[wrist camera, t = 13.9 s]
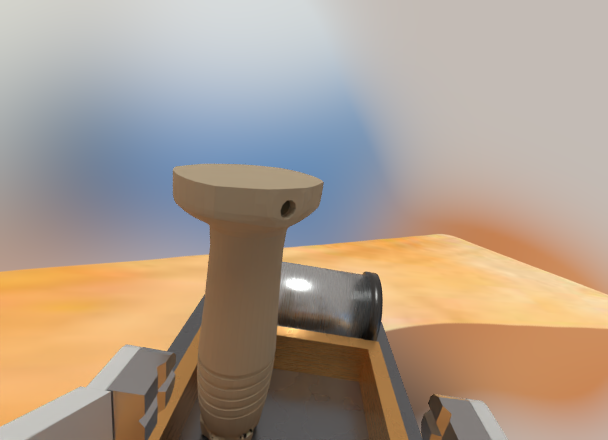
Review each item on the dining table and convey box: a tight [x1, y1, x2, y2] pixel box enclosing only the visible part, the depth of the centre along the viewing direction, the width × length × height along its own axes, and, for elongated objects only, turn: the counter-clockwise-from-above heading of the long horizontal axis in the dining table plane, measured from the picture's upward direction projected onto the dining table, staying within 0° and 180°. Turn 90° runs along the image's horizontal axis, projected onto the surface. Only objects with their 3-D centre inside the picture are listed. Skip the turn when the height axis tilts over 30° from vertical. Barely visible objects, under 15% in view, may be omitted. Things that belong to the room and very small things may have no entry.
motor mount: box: [148, 262, 423, 440], centre depth 20 cm, size 18×19×7 cm
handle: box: [173, 164, 324, 440], centre depth 15 cm, size 5×6×15 cm
